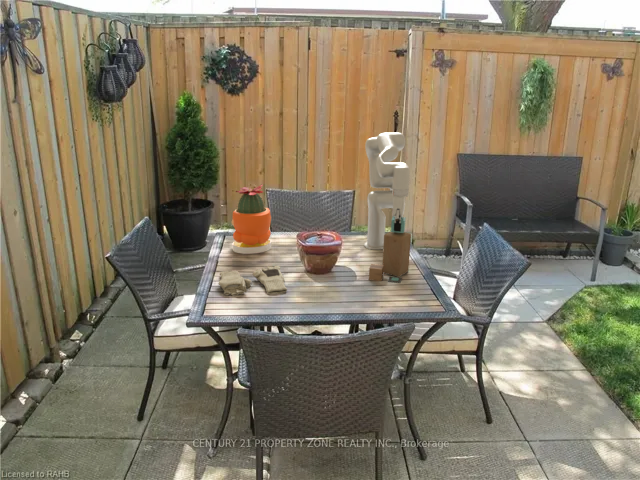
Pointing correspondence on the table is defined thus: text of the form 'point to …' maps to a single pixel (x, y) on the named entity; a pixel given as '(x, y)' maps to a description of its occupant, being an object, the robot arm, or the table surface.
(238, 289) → the pair of gloves
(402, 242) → the wooden block
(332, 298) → the table surface
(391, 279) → the card
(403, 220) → the teal cube
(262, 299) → the table surface
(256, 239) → the potted cactus
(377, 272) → the walnut cube
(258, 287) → the table surface
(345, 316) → the table surface
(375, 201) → the robot arm
